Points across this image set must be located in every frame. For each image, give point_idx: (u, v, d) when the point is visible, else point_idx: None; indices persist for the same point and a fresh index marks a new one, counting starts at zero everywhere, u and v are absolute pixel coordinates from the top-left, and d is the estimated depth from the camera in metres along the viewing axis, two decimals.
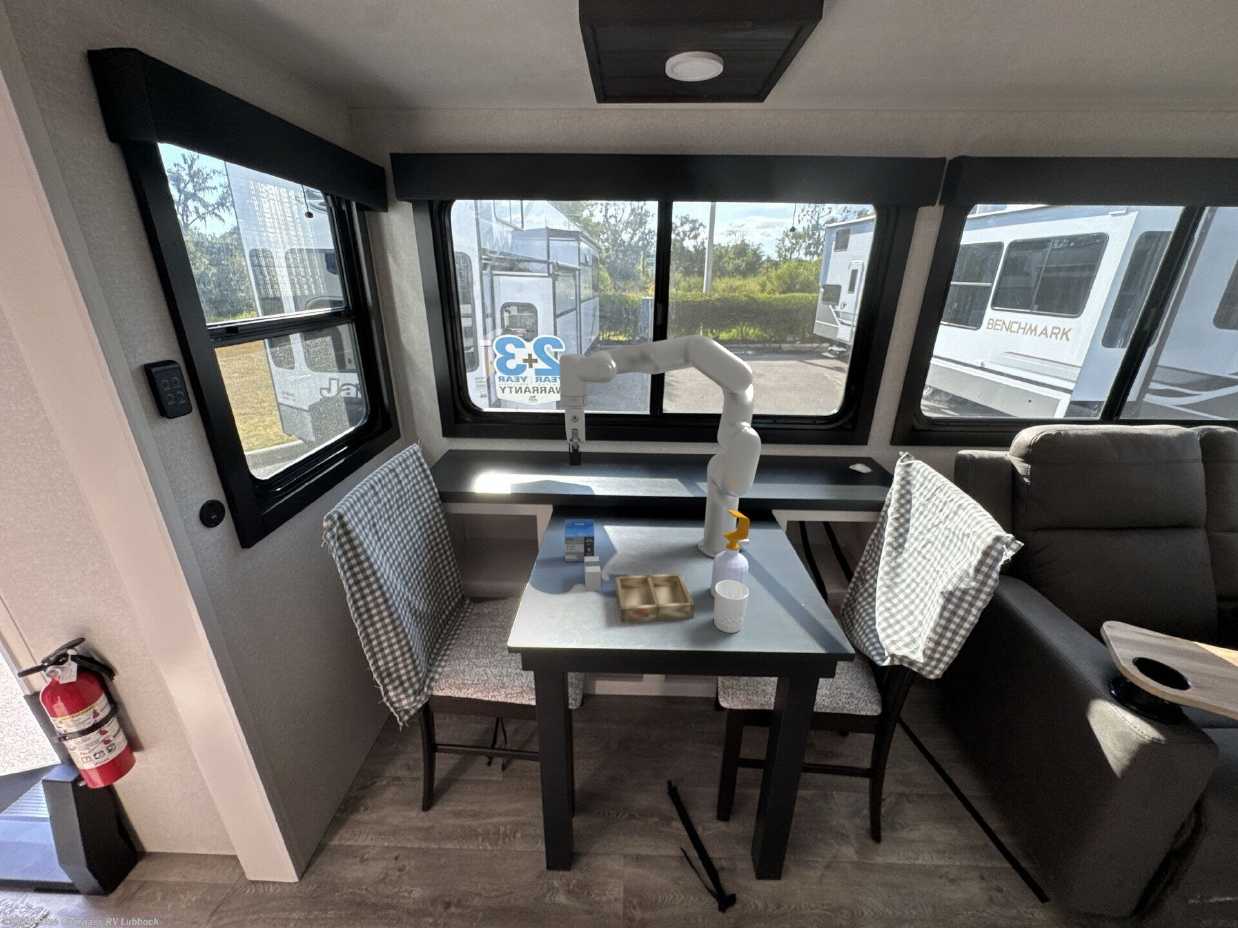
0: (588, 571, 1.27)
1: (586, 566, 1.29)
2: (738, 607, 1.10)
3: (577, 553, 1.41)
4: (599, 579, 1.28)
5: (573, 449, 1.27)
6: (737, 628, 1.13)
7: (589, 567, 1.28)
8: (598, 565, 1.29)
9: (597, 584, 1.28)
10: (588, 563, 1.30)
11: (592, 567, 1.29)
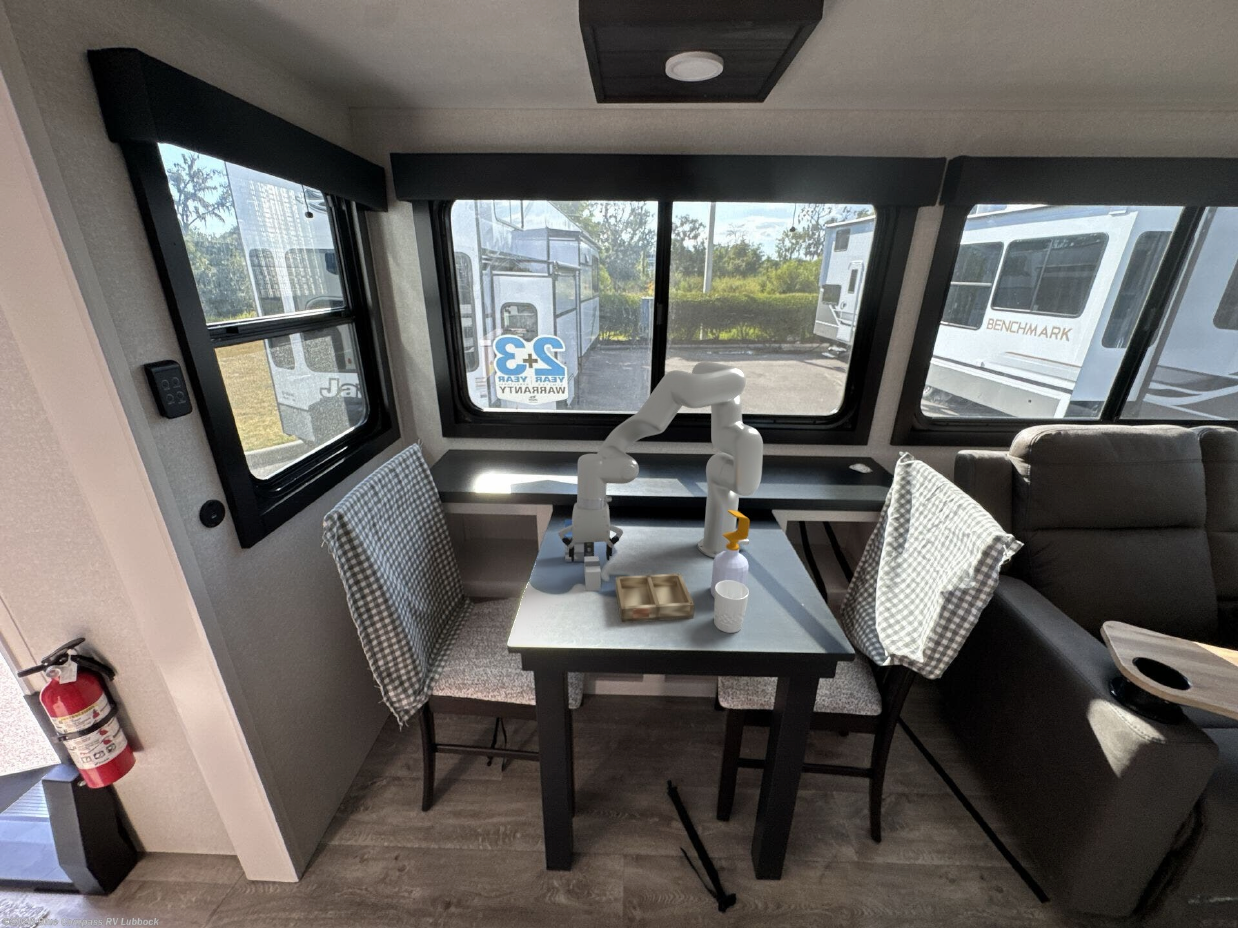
0: (588, 571, 1.27)
1: (586, 566, 1.29)
2: (738, 607, 1.10)
3: (577, 553, 1.41)
4: (599, 579, 1.28)
5: None
6: (737, 628, 1.13)
7: (589, 567, 1.28)
8: (598, 565, 1.29)
9: (597, 584, 1.28)
10: (588, 563, 1.30)
11: (592, 567, 1.29)
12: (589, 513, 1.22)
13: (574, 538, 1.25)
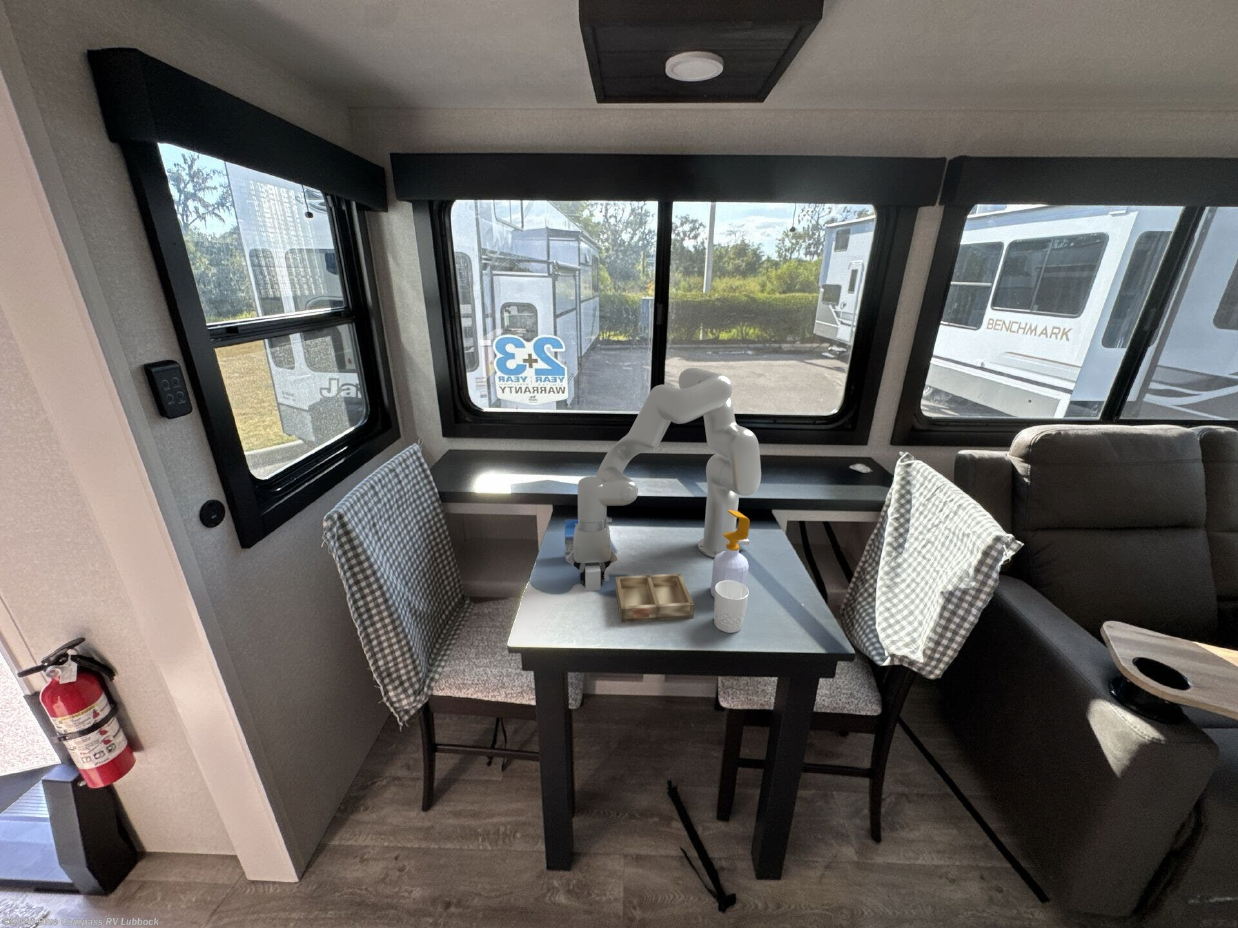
0: (588, 571, 1.27)
1: (586, 566, 1.29)
2: (738, 607, 1.10)
3: None
4: (599, 579, 1.27)
5: None
6: (737, 628, 1.13)
7: (589, 567, 1.28)
8: (598, 565, 1.29)
9: (597, 584, 1.28)
10: (588, 563, 1.30)
11: (592, 567, 1.28)
12: (590, 535, 1.24)
13: (576, 559, 1.27)
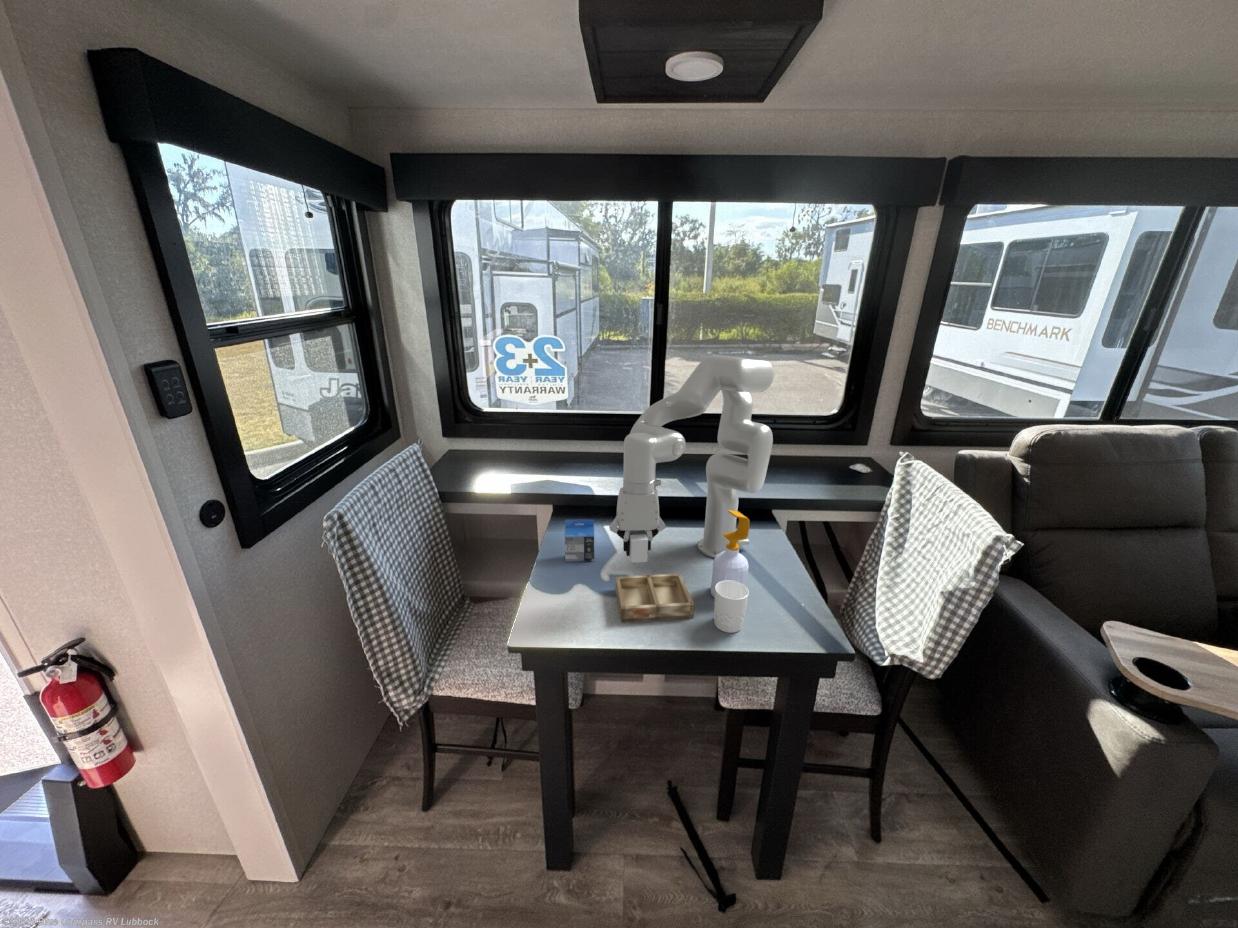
0: (634, 539, 1.13)
1: (630, 534, 1.15)
2: (738, 607, 1.10)
3: (577, 553, 1.41)
4: (646, 549, 1.14)
5: None
6: (737, 628, 1.13)
7: (634, 535, 1.15)
8: (644, 533, 1.16)
9: (643, 555, 1.14)
10: (633, 532, 1.17)
11: (638, 535, 1.15)
12: (637, 499, 1.11)
13: (620, 526, 1.13)
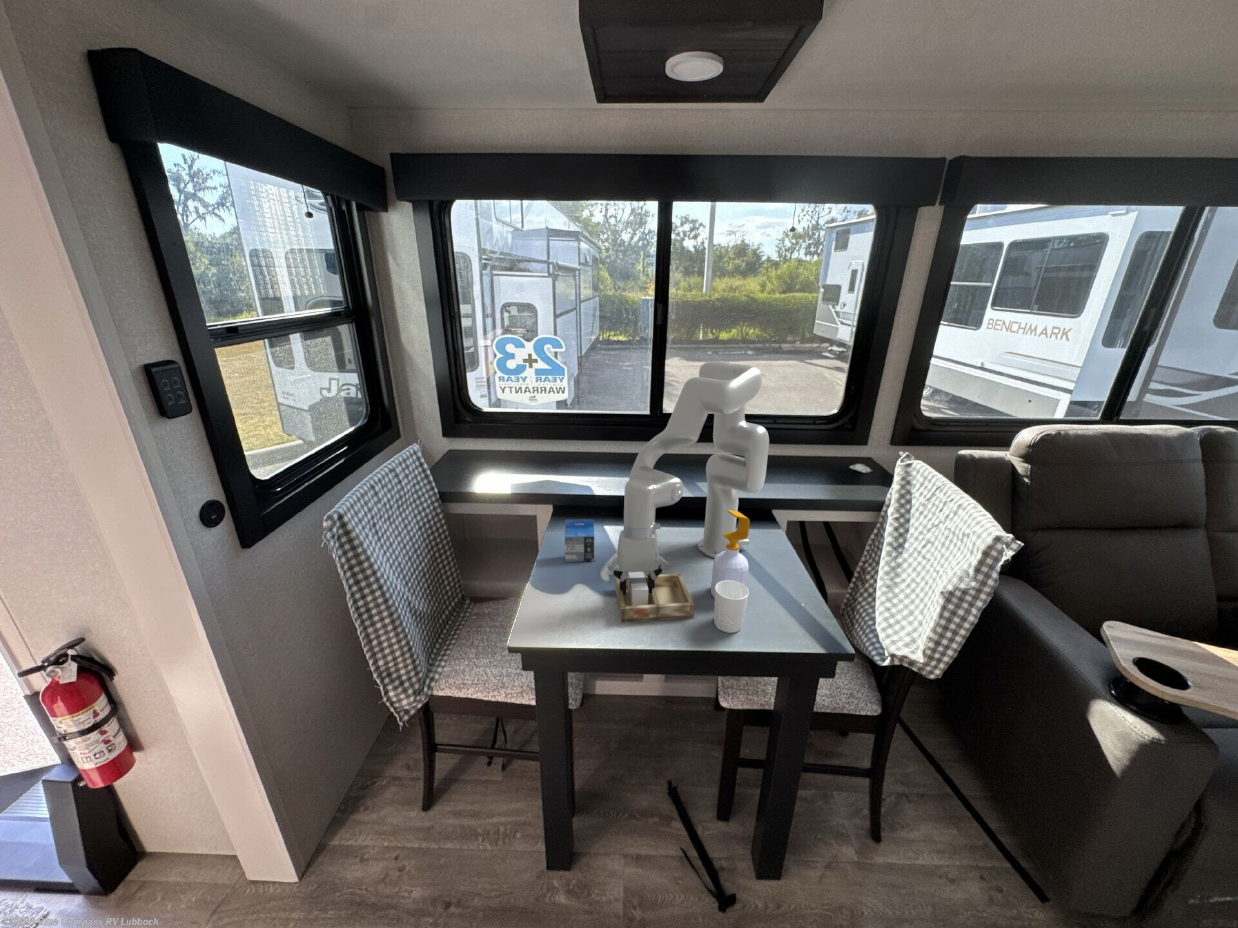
0: (635, 589, 1.17)
1: (631, 583, 1.20)
2: (738, 607, 1.10)
3: (577, 553, 1.41)
4: (646, 597, 1.18)
5: None
6: (737, 628, 1.13)
7: (635, 584, 1.19)
8: (645, 582, 1.20)
9: (644, 603, 1.19)
10: (634, 580, 1.21)
11: (638, 584, 1.19)
12: (637, 542, 1.14)
13: (621, 568, 1.17)
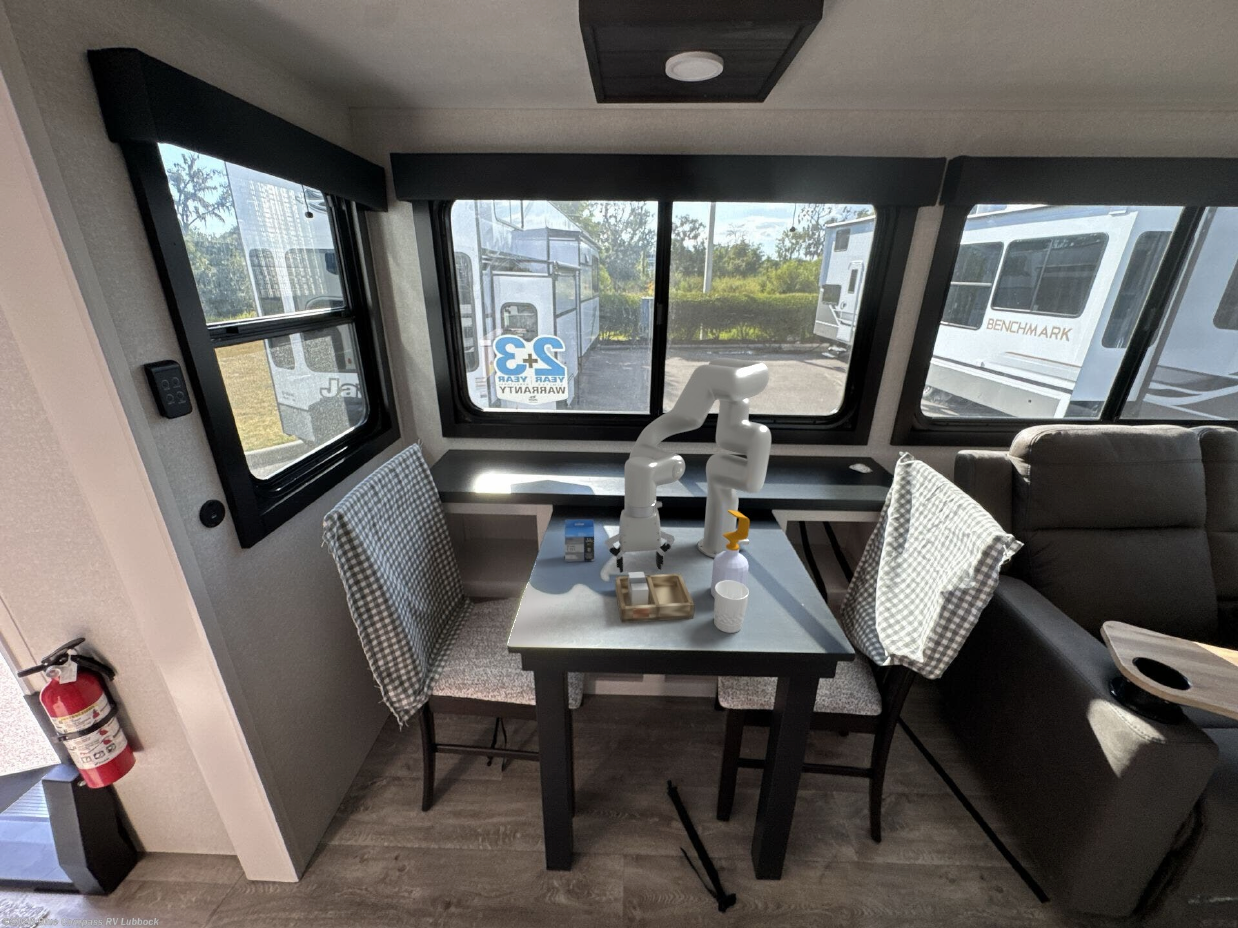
0: (635, 589, 1.17)
1: (631, 583, 1.20)
2: (738, 607, 1.10)
3: (577, 553, 1.41)
4: (646, 597, 1.18)
5: None
6: (737, 628, 1.13)
7: (635, 584, 1.19)
8: (645, 582, 1.20)
9: (644, 603, 1.19)
10: (634, 580, 1.21)
11: (638, 584, 1.19)
12: (638, 522, 1.13)
13: (623, 548, 1.15)
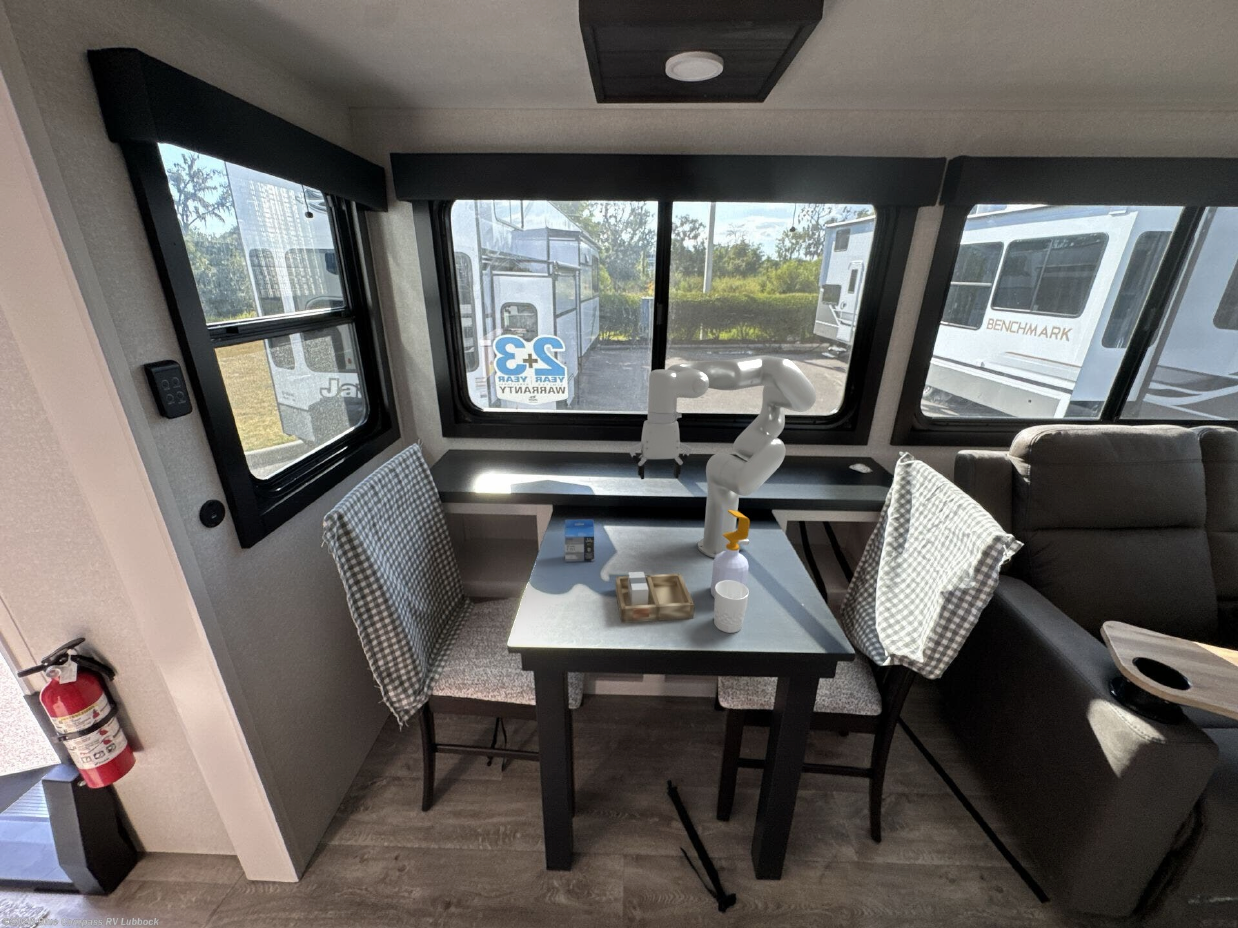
0: (635, 589, 1.17)
1: (631, 583, 1.20)
2: (738, 607, 1.10)
3: (577, 553, 1.41)
4: (646, 597, 1.18)
5: None
6: (737, 628, 1.13)
7: (635, 584, 1.19)
8: (645, 582, 1.20)
9: (644, 603, 1.19)
10: (634, 580, 1.21)
11: (638, 584, 1.19)
12: (660, 428, 1.24)
13: (645, 454, 1.27)
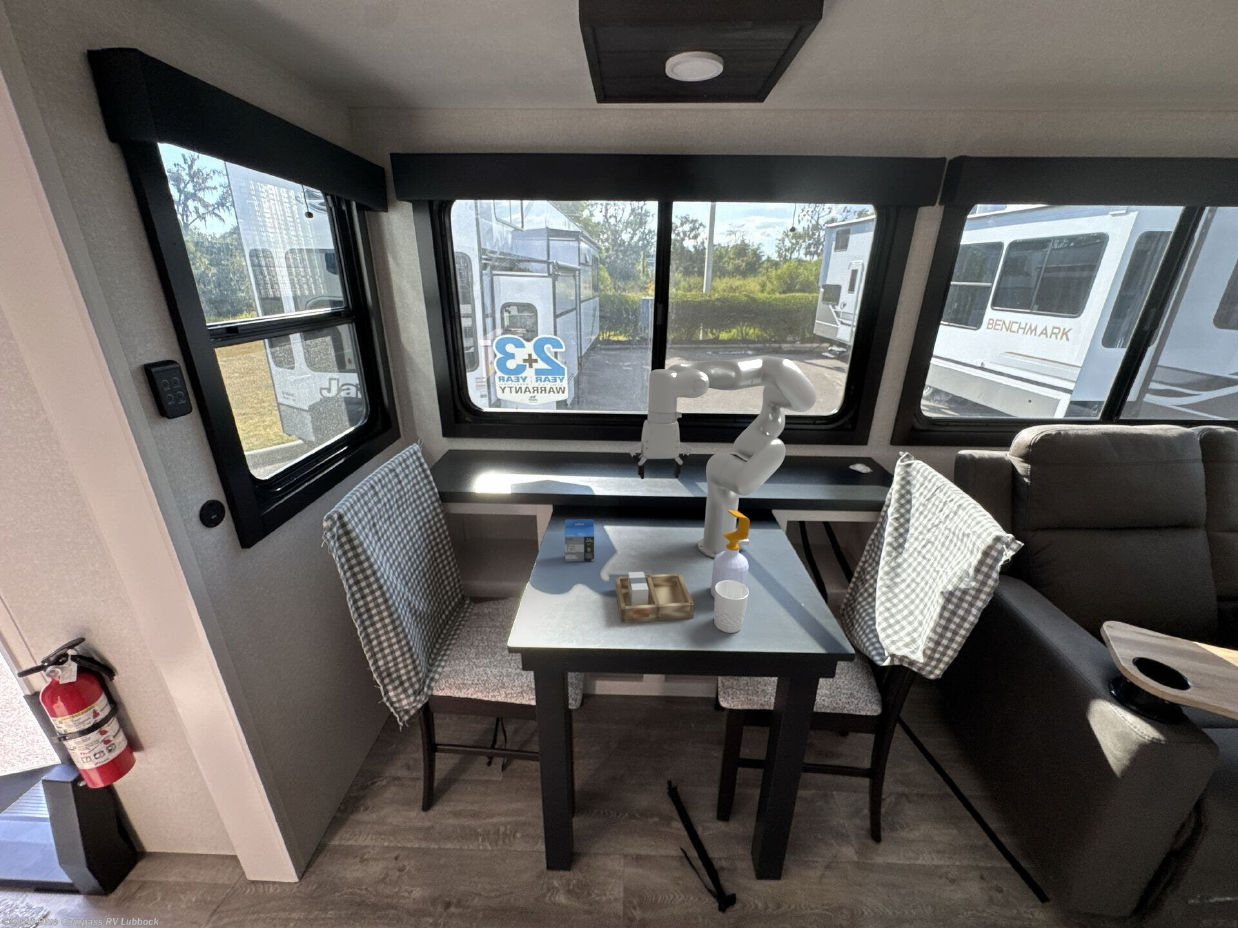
0: (635, 589, 1.17)
1: (631, 583, 1.20)
2: (738, 607, 1.10)
3: (577, 553, 1.41)
4: (646, 597, 1.18)
5: None
6: (737, 628, 1.13)
7: (635, 584, 1.19)
8: (645, 582, 1.20)
9: (644, 603, 1.19)
10: (634, 580, 1.21)
11: (638, 584, 1.19)
12: (660, 428, 1.24)
13: (645, 454, 1.27)
